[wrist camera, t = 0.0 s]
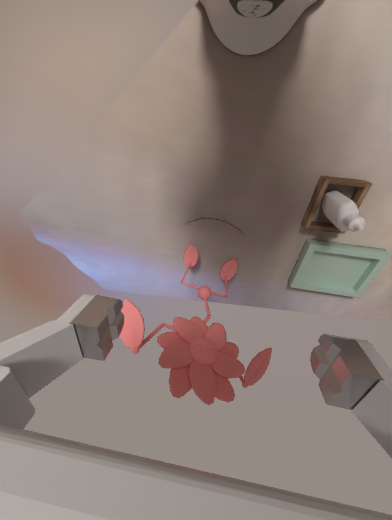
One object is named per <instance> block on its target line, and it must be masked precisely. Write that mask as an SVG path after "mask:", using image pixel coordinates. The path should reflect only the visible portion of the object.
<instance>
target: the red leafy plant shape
mask: <svg viewBox="0 0 392 520" xmlns="http://www.w3.org/2000/svg"><path fill="white" fill-rule="evenodd" d="M203 217H204V216H203ZM203 219H211V218H203ZM196 220H198V219H196ZM216 220H218V219H216ZM224 220H225V219H224ZM193 221H194V220H193ZM190 222H191V221H190ZM235 228H236V227H235ZM238 230H239V229H238ZM239 231H240V230H239ZM240 232H241V231H240ZM241 233H242V232H241ZM242 234H243V233H242ZM243 235H244V234H243ZM198 255H199V254H198V252H197V249H196V248H195V247H194V246H193V245H192V244H191V243H190V245H189V246H188V247H187V249H186V250H185V253H184V261H185V263H186V265H187V266H188V267H187V269H186V272H185V274H184V276H183V278H182V280H181V284H185V285H188V286H191V287H194V288H197V289H199V291H198V295H199V297H200V298H201V299H204V300H205V305H206V310H207V317H206V318H205V320H204V321H202V320H201V319H200V318H198V317H193V318H192V319H191V320H190V321H189V320H187V319H184V318H181V317H176V318H174V320H173V326H170V325H167V324H165V323H163V324H161V325H160V326H159V327H158V328H156V329H155V330H154V331H153V332H152V333H151V334H150V335H149V336H148V337H147V338H145V339H144V340H143V337H144V330H145V328H144V320H143V318H142V315H141V313H140V311H139V309H138V308H137V307H136V306H135V305H134V304H133V303H132V302H130V301H129V300H128V299H125V302H124V304H123V308H122V309H121V312H122V313H123V314H124V326H123V329H122V331H121V333H120V336H121V339H122V340H123V342H124V343H125V345H126V347H128V348H130V349H132V350H133V353H135V354H136V353H138V352H139V349H140V348H141V347H142V346H143V345H144V344H145V343H146V342H147V341H149V340H150V338H152V337H153V336H154V335H155V334H156V333H157V332H158V331H159V330H160V329H161V328H162V327H163V326H164V327H167V328H169V329H172V330H174V331H177V332H166V333H163V334H161V335H160V336H158V338H157V342H158V343H159V344H160V345H161V347H163V348H164V349H165V350H164V351H163V352H162V354H161V356H160V358H159V364H160V366H161V367H162V368H172V369H171V371H170V378H169V384H170V391H171V393H172V395H173V396H174V397H177V398H180V397H182V396H184V395H185V394H186V393H187V392H188V391H189V390H190V389H191V388H193V390H194V392H195V394H196V395H197V396H198V397H199V398H200V399H201V400H202V401H203V402H204V403H206V404H208V405H210V404H212V403H213V402H214V397H216V398H218V399H219V400H222V401H226V402H230V401H233V400H234V396H235V394H234V390H233V388H232V386H231V384H230V382H229V380H228V378H237V377H239V378H240V380H241V381H242V386H243V387H244V388H246V387H247V386H250V385H253V384H254V383H256V382H257V381H258V380H259V379H260V378H261V377H262V376H263V374H264V373H265V371H266V369H267V367H268V365H269V361H270V357H271V351H272V348H268V349H265V350H264V351H261V352H259V353H258V354H257V355H256V356H255V357H254V358H253V359H252V361H251V362H250V364H249V366H248V368H247V370H246V373H245V376H244V379H243V377H242V376H241V375H242V374H243V373H244V372H245V368H244V365H243V364H242V363H241V362H240V361H238V360H237V359H236V358H237V356H238V353H239V350H238V347H237V346H236V345H235V344H234V343H230V342H226V340H227V339H226V331H225V329H224V327H223V325H222V324H220V323H213V324H212V325H211V326H210V327H209V328H208V327H207V326H206V324H205V323H206V322H207V321H208V320H209V319H210V318H209V317H210V316H211V315H210V311H209V307H208V303H207V299H208V298H209V297H210V296H211V293H212V294H215V295H219V296H222V297H225V298H227V297H228V293H227V281H228V280H230V279H231V278H233V277H234V275H235V274H236V272H237V269H238V260H236V259H237V258H236V259H232V260H229V261H227V262H226V263H225V264H224V265H223V267H222V269H221V273H220V276H221V279H223V281H225V286H226V296H224V295H221V294H218V293H215V292H211V290H210V288H209V287H207V286H202V287H201V288H200V287H197V286H193V285H190V284H187V283H183V280H184V277H185V275H186V273H187V271H188V269H189V267H193V266H195V265H196V263H197V261H198Z"/></svg>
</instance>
